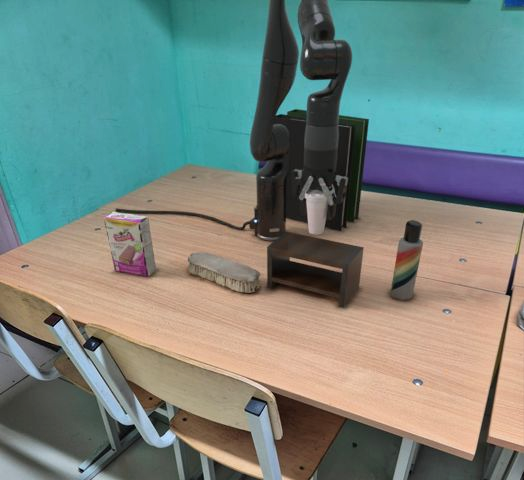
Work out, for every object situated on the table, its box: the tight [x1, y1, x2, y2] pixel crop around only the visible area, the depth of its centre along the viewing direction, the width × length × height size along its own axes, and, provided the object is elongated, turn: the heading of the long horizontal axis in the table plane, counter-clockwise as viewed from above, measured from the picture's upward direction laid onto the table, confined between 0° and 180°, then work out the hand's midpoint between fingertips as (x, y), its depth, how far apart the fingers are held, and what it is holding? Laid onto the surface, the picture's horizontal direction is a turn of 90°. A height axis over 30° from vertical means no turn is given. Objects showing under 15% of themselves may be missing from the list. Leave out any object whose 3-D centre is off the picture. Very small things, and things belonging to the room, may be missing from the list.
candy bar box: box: [103, 211, 157, 278], centre depth 137 cm, size 11×5×16 cm, turn 71°
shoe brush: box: [187, 251, 261, 294], centre depth 135 cm, size 24×8×5 cm, turn 54°
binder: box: [273, 108, 370, 232], centre depth 163 cm, size 27×15×32 cm, turn 54°
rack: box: [266, 230, 365, 309], centre depth 129 cm, size 22×11×12 cm, turn 61°
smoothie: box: [305, 190, 329, 235], centre depth 119 cm, size 6×6×14 cm
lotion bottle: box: [390, 219, 424, 301], centre depth 123 cm, size 6×6×20 cm
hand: (316, 216), depth 121 cm, fingers closed on smoothie, 6 cm apart
